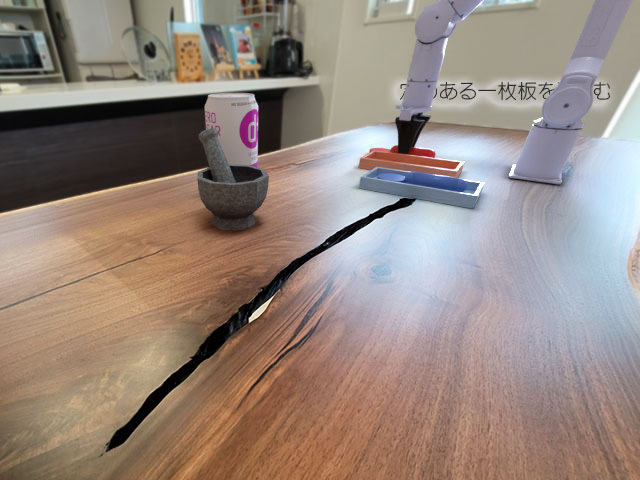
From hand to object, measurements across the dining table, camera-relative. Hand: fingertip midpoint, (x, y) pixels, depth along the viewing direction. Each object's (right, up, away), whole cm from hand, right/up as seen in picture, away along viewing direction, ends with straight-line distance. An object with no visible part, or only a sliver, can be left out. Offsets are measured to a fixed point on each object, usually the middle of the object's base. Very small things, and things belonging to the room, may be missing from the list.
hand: (405, 152), depth 80 cm
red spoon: (-1, -1, +1) cm, 2 cm away
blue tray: (-6, -14, -18) cm, 24 cm away
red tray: (-2, -6, -7) cm, 10 cm away
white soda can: (-38, -15, -18) cm, 45 cm away
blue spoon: (-6, -14, -18) cm, 24 cm away
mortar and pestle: (-38, -22, -28) cm, 52 cm away
